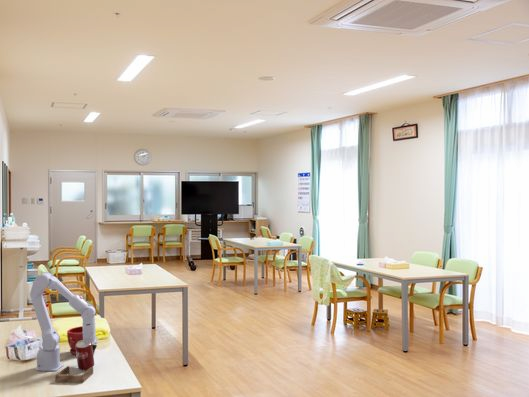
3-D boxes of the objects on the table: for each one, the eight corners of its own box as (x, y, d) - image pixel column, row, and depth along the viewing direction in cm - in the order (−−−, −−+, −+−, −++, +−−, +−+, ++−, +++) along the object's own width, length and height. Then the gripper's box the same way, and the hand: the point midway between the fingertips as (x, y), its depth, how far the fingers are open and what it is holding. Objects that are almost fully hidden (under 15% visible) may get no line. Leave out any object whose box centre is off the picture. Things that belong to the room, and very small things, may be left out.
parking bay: (55, 382, 237) (55, 375, 236) (67, 372, 248) (67, 366, 248) (82, 382, 236) (82, 375, 235) (93, 373, 247) (93, 367, 247)
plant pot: (84, 347, 287) (83, 324, 287) (100, 351, 279) (100, 328, 279) (62, 353, 276) (61, 329, 276) (78, 358, 269) (77, 333, 268)
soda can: (85, 372, 249) (82, 349, 246) (74, 368, 253) (71, 345, 249) (97, 364, 255) (95, 341, 252) (86, 360, 259) (84, 337, 255)
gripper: (91, 336, 249) (92, 366, 250) (103, 328, 264) (103, 356, 264) (76, 336, 250) (77, 366, 250) (88, 328, 264) (89, 356, 265)
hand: (90, 361), depth 257 cm, fingers closed, pressing on soda can
